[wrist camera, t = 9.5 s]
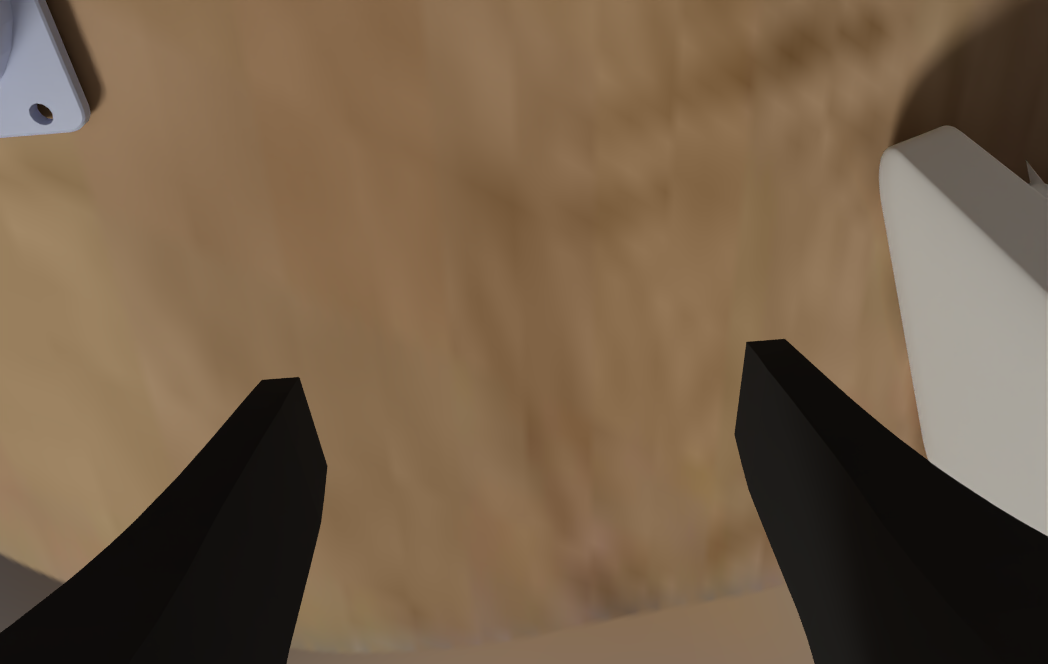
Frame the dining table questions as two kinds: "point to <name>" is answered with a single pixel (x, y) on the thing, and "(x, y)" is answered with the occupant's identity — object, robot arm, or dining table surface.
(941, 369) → the cable organizer
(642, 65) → the dining table surface
